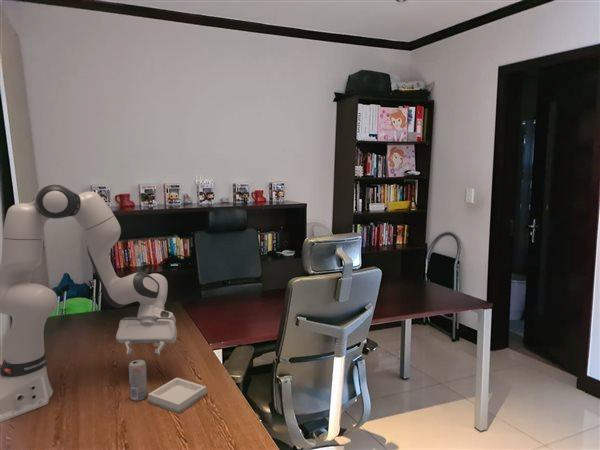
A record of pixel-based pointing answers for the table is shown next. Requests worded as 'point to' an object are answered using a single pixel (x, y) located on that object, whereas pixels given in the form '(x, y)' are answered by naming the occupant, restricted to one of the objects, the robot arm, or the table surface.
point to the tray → (177, 395)
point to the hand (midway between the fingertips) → (143, 354)
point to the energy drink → (137, 380)
